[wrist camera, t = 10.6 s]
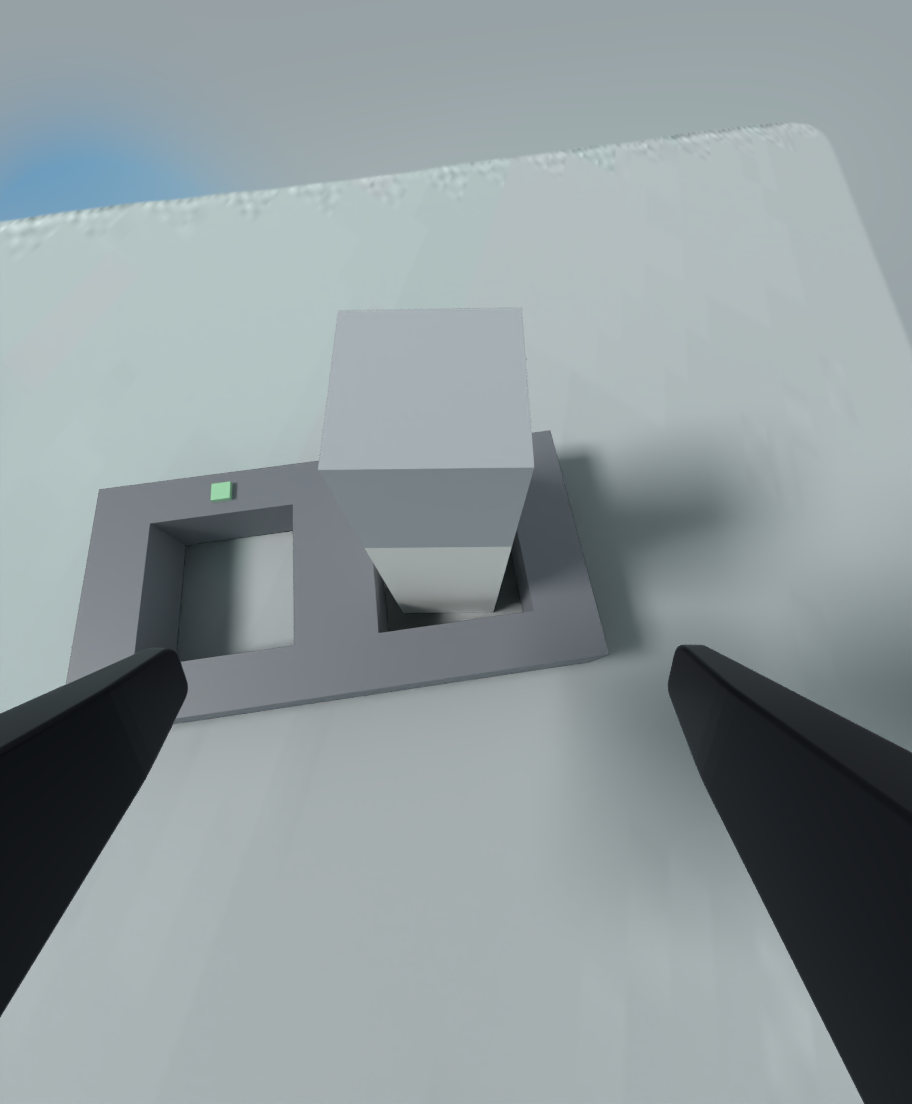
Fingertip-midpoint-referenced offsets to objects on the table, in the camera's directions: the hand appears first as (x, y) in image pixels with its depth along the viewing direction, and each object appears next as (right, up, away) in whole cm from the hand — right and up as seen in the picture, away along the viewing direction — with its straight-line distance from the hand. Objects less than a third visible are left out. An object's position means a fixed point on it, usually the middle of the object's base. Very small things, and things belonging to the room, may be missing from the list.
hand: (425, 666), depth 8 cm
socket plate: (-4, +1, +12) cm, 13 cm away
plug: (0, +1, +12) cm, 12 cm away
